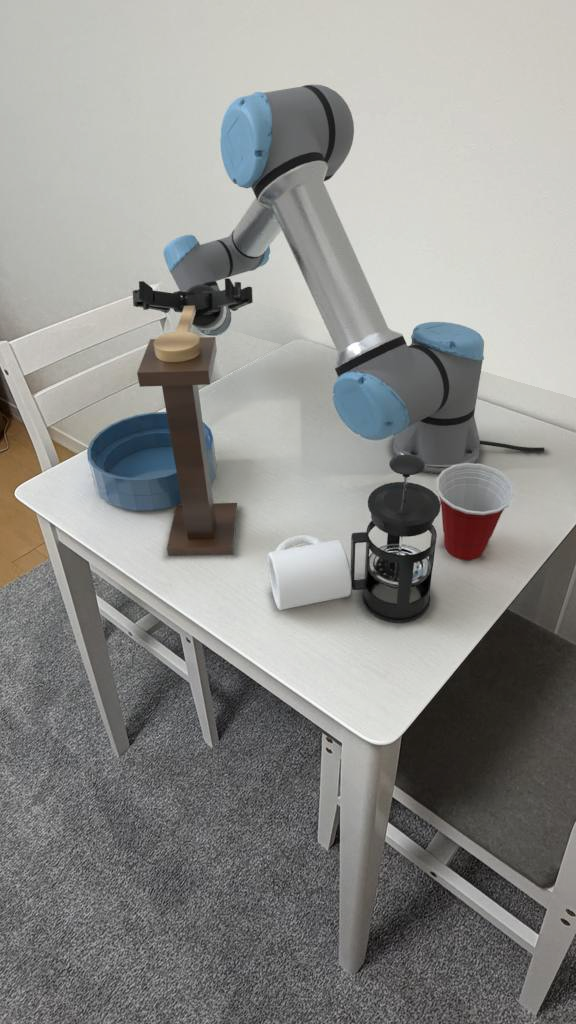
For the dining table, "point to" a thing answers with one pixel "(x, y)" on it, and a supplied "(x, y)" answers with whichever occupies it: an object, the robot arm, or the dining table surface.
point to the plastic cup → (471, 506)
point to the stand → (191, 454)
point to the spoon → (179, 340)
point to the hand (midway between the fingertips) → (184, 288)
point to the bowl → (139, 463)
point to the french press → (398, 544)
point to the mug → (308, 572)
